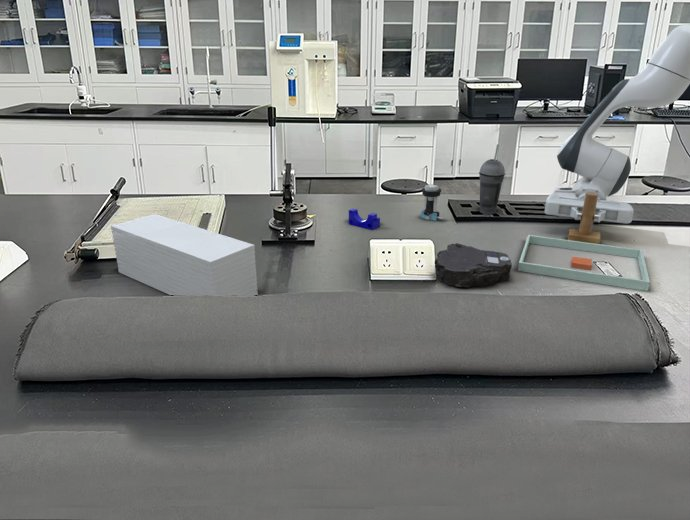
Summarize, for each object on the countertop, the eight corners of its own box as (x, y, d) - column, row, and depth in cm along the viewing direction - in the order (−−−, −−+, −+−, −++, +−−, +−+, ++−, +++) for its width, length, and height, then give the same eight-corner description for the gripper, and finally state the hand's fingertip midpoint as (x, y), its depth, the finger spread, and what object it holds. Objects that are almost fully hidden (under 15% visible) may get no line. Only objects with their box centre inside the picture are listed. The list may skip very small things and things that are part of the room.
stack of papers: (118, 272, 116) (110, 225, 112) (160, 257, 123) (154, 213, 119) (215, 315, 98) (210, 261, 94) (257, 295, 106) (254, 244, 102)
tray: (639, 260, 123) (642, 249, 122) (647, 293, 107) (650, 282, 106) (526, 244, 132) (527, 234, 131) (517, 273, 116) (518, 262, 115)
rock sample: (465, 299, 104) (467, 276, 102) (414, 271, 116) (415, 250, 115) (525, 279, 113) (528, 258, 111) (472, 255, 125) (474, 236, 123)
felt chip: (590, 263, 119) (591, 259, 119) (590, 270, 116) (591, 265, 115) (571, 261, 121) (572, 256, 120) (570, 267, 117) (571, 262, 117)
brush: (597, 243, 132) (607, 192, 127) (598, 250, 128) (608, 198, 123) (567, 239, 134) (576, 189, 129) (566, 246, 130) (575, 194, 125)
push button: (446, 221, 149) (449, 186, 145) (437, 225, 145) (440, 190, 141) (425, 216, 153) (428, 182, 149) (416, 221, 149) (418, 186, 145)
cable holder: (379, 226, 144) (380, 212, 143) (372, 230, 142) (372, 215, 140) (356, 220, 149) (356, 207, 147) (348, 224, 146) (348, 210, 145)
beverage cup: (491, 207, 161) (499, 140, 153) (505, 214, 155) (514, 145, 147) (470, 209, 159) (477, 142, 151) (483, 216, 153) (491, 146, 145)
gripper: (629, 219, 137) (633, 236, 125) (545, 210, 144) (541, 225, 132) (634, 195, 134) (638, 210, 122) (549, 187, 142) (545, 200, 130)
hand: (587, 218), depth 127 cm, fingers closed on brush, 3 cm apart
